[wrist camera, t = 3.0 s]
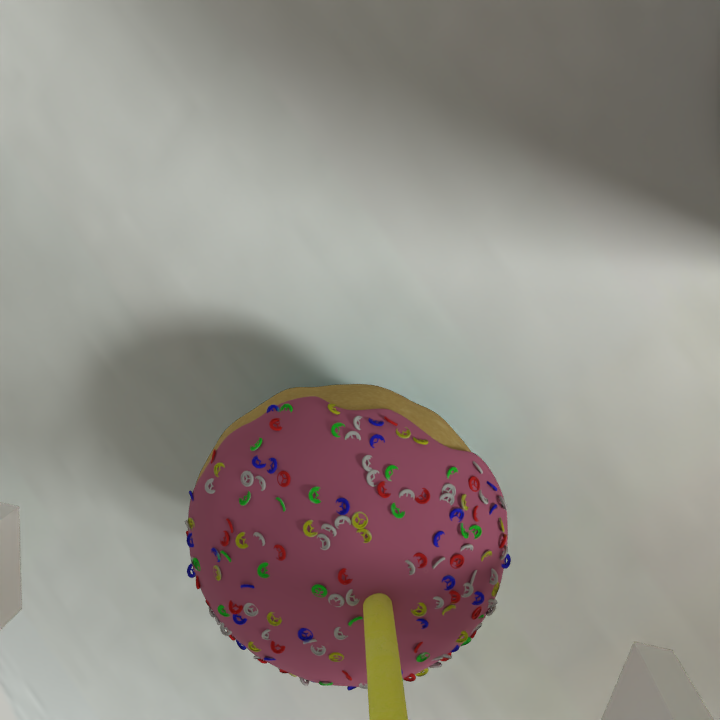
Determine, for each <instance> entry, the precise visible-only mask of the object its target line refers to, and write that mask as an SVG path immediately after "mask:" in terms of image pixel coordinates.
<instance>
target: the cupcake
mask: <svg viewBox="0 0 720 720" xmlns="http://www.w3.org/2000/svg"><path fill="white" fill-rule="evenodd" d="M189 494H190V496H191V501H190V506H189V514H188V521H187V520H186V521H185V524H186V526H187V527H188V531H186V534H187V544H188V546H189V548H190V556H191V561H192V563H191V564H190V565H189V566H188V569H187V574H188V576H189V577H190V578H193V577H195V576H196V587H197V589H200V588H201V590H202V593H203V595H204V597H205V599H206V603H207V605H208V606H209V612H210V615H211V616H212V617H215V619H216V622H217V624H218V625H220V622H221V626H220V629H221V632H222V634H224V635H225V636H229V637H230V638H231V639H232V640H235V639H236V642H237V644H238V646H239V647H240V648H241V649H242V650H245V649H246V648H248V649H249V650H250V651H251V652H252V653H253V654H255V655H256V656H254V659H258V660H259V661H260V662H261V663H264V664H265V663H267V662H268V663H270V664H272V665H274V666H276V667H278V669H279V670H280V672H281V673H289V674H290V675H292V676H294V677H297V676H298V677H299V678H300V680H301V682H302V684H303V685H305V686H307V685H308V684H309V681H312V682H316V683H319V684H320V685H338V686H348V687H347V689H348V690H352V689H354V688H356V687H361V688H364V689H368V700H369V717H370V720H408V717H407V710H406V702H405V695H404V687H403V680H405V681H410V682H411V681H414V680H415V679H416V677H415V675H416V676H423V675H425V674H427V673H428V667H431V668H438V667H441V666H442V664H441V663H440V662H438V661H439V660H440V661H447V660H448V659H451V658H452V656H451V653H452V652H455V651H457V650H458V649H459V647H460V646H462V645H466V644H468V643H469V642H470V641H471V638H473V637H474V636H475V634H476V631H477V630H478V629H479V628H480V627H481V626H482V623H481V622H482V621H483V619H484V618H485V616H486V615H487V616H489V615H491V614H492V613H493V612H494V610H495V608H496V604H497V601H496V600H495V597H496V594H497V592H498V589H499V586H500V583H501V579H502V574H503V569H504V568H508V567H509V565H510V562H511V558H510V556H509V554H507V552H508V547H507V537H508V530H507V511H506V510H507V509H508V508H507V504H506V502H505V500H504V498H503V495H502V492H501V489H500V487H499V485H498V483H497V481H496V479H495V477H494V475H493V474H492V472H491V470H490V469H489V467H488V466H487V465H486V463H485V462H484V461H483V460H482V459H481V458H480V457H479V456H477V455H476V454H474V453H472V452H471V451H470V450H469V448H468V447H467V445H466V444H465V443H464V442H463V440H462V439H461V438H460V437H459V436H458V435H457V433H456V432H455V431H454V430H453V429H452V428H451V427H450V425H449V424H448V423H447V422H446V421H445V420H444V419H443V418H442V417H440V416H439V415H438V414H436V413H435V412H433V411H432V410H430V409H428V408H426V407H423V406H421V405H419V404H416V403H414V402H412V401H410V400H408V399H407V398H405V397H403V396H401V395H399V394H397V393H395V392H393V391H391V390H388V389H386V388H382V387H379V386H374V385H366V384H344V385H328V386H322V387H295V388H289V389H287V390H284V391H282V392H280V393H278V394H276V395H275V396H273V397H271V398H270V399H268V400H267V401H265V402H264V403H262V404H261V405H259V406H258V407H256V408H255V409H253V410H252V411H250V412H249V413H247V414H245V415H244V416H242V417H241V418H239V419H238V420H236V421H235V422H234V423H233V424H231V425H230V426H229V427H228V428H227V429H226V430H225V431H224V433H223V434H222V435H221V437H220V438H219V440H218V442H217V443H216V445H215V447H214V449H213V450H212V452H211V454H210V456H209V457H208V459H207V461H206V463H205V464H204V466H203V468H202V470H201V472H200V474H199V477H198V479H197V482H196V485H195V488H194V491H193V493H192V491H189ZM506 559H507V560H508V561H507V563H506ZM192 566H193V569H191V568H192ZM190 570H192V572H193V574H191V572H190ZM193 570H194V571H193ZM211 609H212V610H211ZM489 609H490V610H489ZM491 609H492V610H491ZM488 611H489V612H488ZM213 612H214V614H213ZM224 627H225V628H224ZM224 629H227V632H225V630H224ZM232 636H233V637H232ZM239 642H240V643H239ZM241 644H242V645H243V646H241ZM261 659H262V660H261ZM263 660H264V661H263ZM436 664H437V665H436ZM422 670H423V671H425V672H423V671H422ZM419 672H420V673H419ZM422 672H423V673H422ZM409 677H412V678H409ZM304 679H305V680H306V682H305V681H304Z"/></svg>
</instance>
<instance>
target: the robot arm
mask: <svg viewBox="0 0 720 720" xmlns="http://www.w3.org/2000/svg"><path fill="white" fill-rule="evenodd" d="M21 609H22V593H21V559H20V526H19V506H15V505H10V504H6V503H1V502H0V630H1V629H2V628H3V627H4V626H5V625H6V624H7V623H8V622H9V621H10V620H11V619H12V618H13V617H14V616H15V615H16V614H17V613H18V612H19V611H20V610H21ZM602 720H713V718H712V716H711V715H710V713H709V711H708V710H707V708H706V706H705V705H704V703H703V701H702V699H701V698H700V696H699V694H698V693H697V691H696V689H695V688H694V686H693V684H692V682H691V681H690V679H689V677H688V676H687V674H686V672H685V671H684V669H683V667H682V666H681V664H680V662H679V660H678V659H677V657H676V655H675V654H674V652H673V650H669V649H665V648H660V647H656V646H651V645H647V644H642V643H638V642H634V643H633V645H632V648H631V650H630V652H629V655H628V657H627V660H626V662H625V664H624V667H623V669H622V672H621V674H620V676H619V679H618V681H617V684H616V686H615V688H614V691H613V693H612V696H611V698H610V700H609V703H608V705H607V708H606V710H605V712H604V715H603V717H602Z"/></svg>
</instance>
